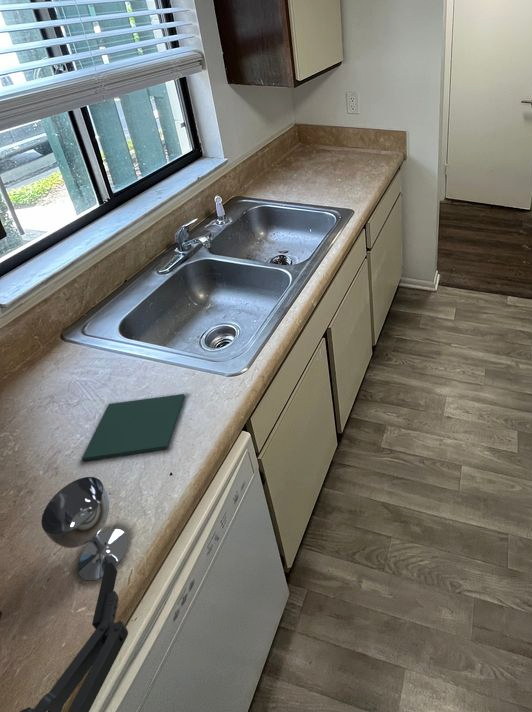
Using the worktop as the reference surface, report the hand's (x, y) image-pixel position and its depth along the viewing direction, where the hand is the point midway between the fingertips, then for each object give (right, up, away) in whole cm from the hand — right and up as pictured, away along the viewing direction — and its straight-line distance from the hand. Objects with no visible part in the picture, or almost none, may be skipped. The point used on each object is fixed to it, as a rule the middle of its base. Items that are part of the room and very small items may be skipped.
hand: (55, 587), depth 60 cm
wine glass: (-3, -8, +14) cm, 16 cm away
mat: (-10, +2, +34) cm, 35 cm away
